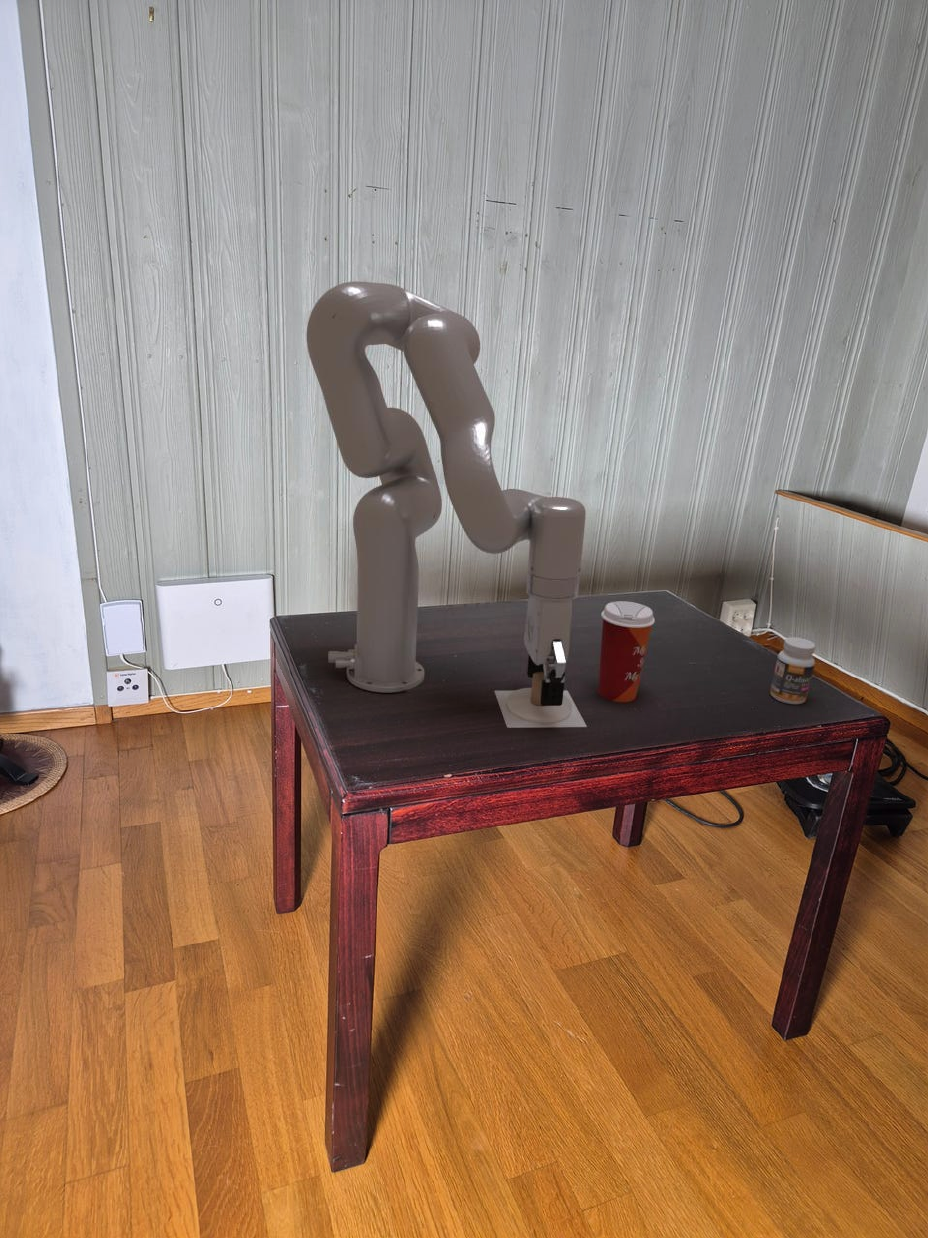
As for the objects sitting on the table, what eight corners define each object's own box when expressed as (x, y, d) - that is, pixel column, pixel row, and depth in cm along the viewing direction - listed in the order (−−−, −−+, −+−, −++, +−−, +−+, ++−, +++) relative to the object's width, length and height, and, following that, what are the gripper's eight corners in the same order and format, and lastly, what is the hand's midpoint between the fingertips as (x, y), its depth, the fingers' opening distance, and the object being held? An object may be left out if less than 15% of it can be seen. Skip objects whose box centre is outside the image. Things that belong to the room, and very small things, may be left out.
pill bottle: (783, 707, 135) (795, 650, 132) (762, 691, 141) (774, 636, 137) (813, 704, 137) (826, 648, 133) (791, 689, 142) (803, 634, 138)
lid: (513, 724, 124) (516, 690, 122) (501, 693, 133) (503, 661, 131) (578, 723, 125) (583, 690, 123) (562, 693, 134) (566, 661, 132)
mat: (507, 729, 123) (507, 727, 123) (494, 692, 134) (494, 690, 134) (586, 729, 124) (586, 726, 124) (567, 692, 135) (567, 690, 135)
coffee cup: (642, 710, 131) (656, 621, 126) (589, 703, 132) (601, 614, 127) (642, 688, 139) (655, 603, 133) (592, 681, 140) (603, 596, 135)
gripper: (516, 565, 129) (509, 667, 135) (540, 604, 113) (531, 717, 119) (563, 566, 130) (555, 666, 136) (594, 604, 114) (582, 716, 120)
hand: (543, 690), depth 128 cm, fingers open, 9 cm apart
